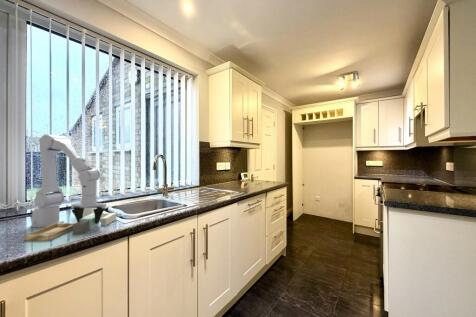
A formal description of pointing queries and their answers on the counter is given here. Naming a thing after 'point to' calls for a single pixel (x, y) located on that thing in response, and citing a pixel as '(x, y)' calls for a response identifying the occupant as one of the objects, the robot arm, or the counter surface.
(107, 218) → the bay
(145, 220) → the counter surface
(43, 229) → the tray
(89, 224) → the gray green block
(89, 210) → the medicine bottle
